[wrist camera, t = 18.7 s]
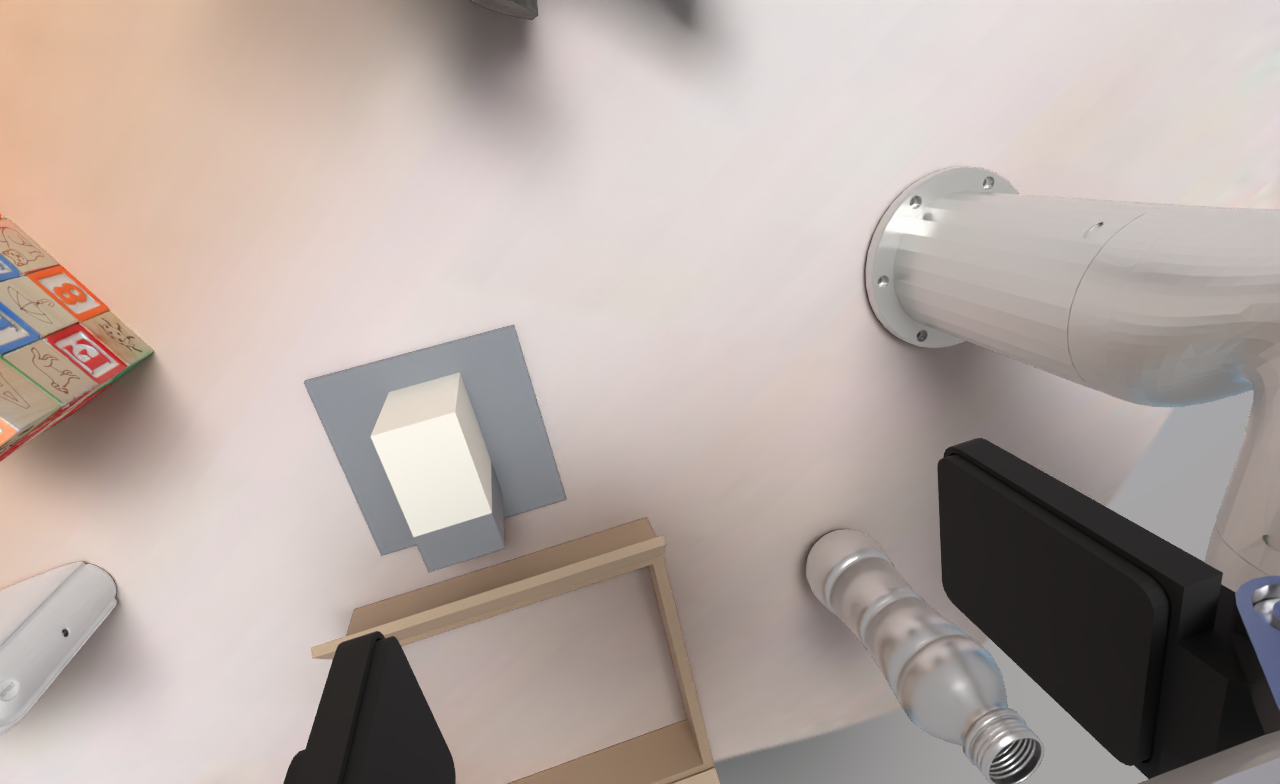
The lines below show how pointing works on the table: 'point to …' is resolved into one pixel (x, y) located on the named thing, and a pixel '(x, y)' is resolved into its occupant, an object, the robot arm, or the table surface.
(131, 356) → the stack of blocks
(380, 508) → the mat
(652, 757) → the carton
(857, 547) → the plastic bottle
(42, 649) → the photo printer
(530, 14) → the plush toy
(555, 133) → the table surface
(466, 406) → the box
